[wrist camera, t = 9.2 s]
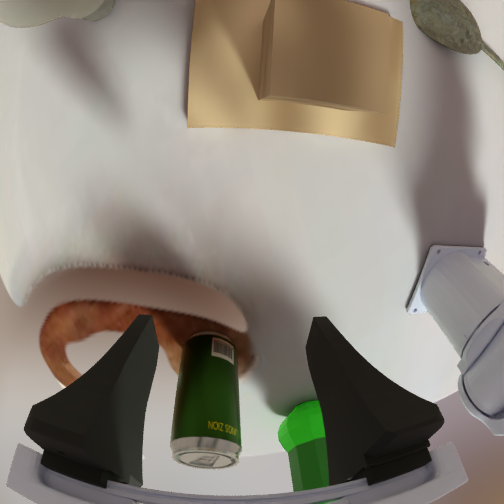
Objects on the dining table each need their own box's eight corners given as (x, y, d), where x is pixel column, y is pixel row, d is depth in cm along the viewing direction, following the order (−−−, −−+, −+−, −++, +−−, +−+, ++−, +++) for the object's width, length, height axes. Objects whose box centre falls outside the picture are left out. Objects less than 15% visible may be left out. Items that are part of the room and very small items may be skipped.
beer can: (192, 321, 25) (178, 443, 14) (246, 338, 26) (255, 455, 15) (177, 355, 27) (162, 462, 16) (225, 369, 28) (226, 472, 18)
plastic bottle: (358, 389, 33) (407, 549, 11) (323, 425, 37) (352, 559, 15) (292, 387, 31) (325, 581, 9) (264, 424, 35) (280, 576, 14)
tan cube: (348, 35, 13) (389, 14, 8) (343, 110, 16) (385, 114, 11) (263, 21, 13) (275, -13, 8) (258, 100, 15) (269, 95, 10)
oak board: (394, 24, 13) (402, 22, 12) (386, 144, 18) (394, 147, 17) (198, -6, 12) (196, -13, 11) (190, 126, 17) (187, 127, 16)
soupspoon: (406, -25, 11) (394, 25, 14) (425, -35, 8) (415, 18, 11) (538, 98, 14) (529, 141, 17) (557, 103, 11) (548, 149, 15)
